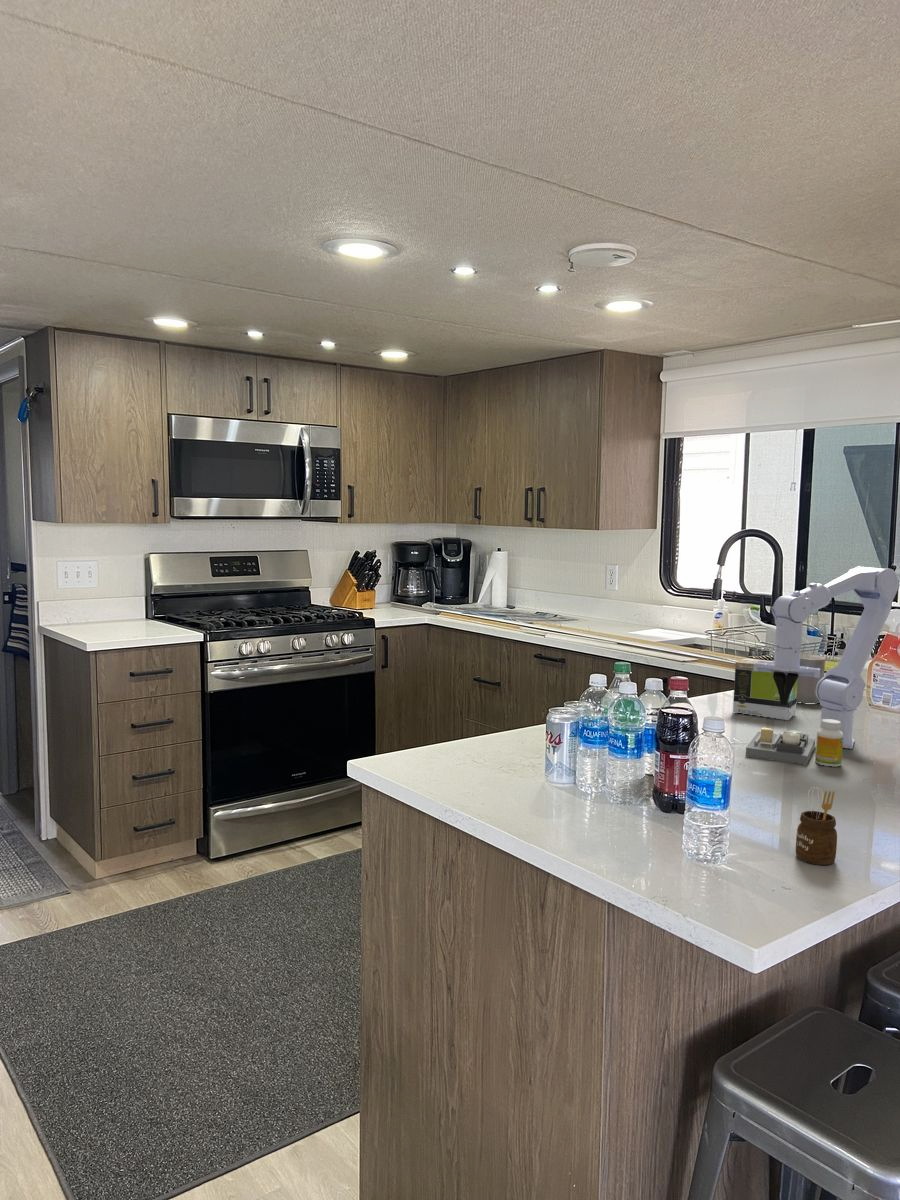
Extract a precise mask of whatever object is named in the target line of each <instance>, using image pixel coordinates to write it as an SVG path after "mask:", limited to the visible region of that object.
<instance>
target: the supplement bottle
mask: <svg viewBox="0 0 900 1200" xmlns="http://www.w3.org/2000/svg"><path fill="white" fill-rule="evenodd" d="M820 724H821V727H822V728H821V729H820V728H819V729H818V730H817V732H816V740H815V755H814V756H815V760H814V761H815V763H816V764H818V765H820V766H823V765H824V767H829V766H832V767H831V768H833V767H835V768H838V767H840V766H841V765H842V760H843V733H842V732H841V731H840V730H839V729H840V727H841V722H840V721H838V720H833V719H822V720H821V719H820Z"/></svg>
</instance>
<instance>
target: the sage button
mask: <svg viewBox="0 0 900 1200" xmlns="http://www.w3.org/2000/svg"><path fill="white" fill-rule="evenodd" d="M786 732H788V733H796V734H799V735H800V738H803V734H804V732H803V731H800V730H786Z"/></svg>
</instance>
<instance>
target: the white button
mask: <svg viewBox="0 0 900 1200" xmlns="http://www.w3.org/2000/svg"><path fill="white" fill-rule="evenodd" d="M786 732H787V731H786ZM782 734H783V740H782V743H783V744H789V745H796V746H799V742H800V735H799V734H796V733H788V732H787V733H784V732H782Z"/></svg>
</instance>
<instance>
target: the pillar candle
mask: <svg viewBox="0 0 900 1200" xmlns="http://www.w3.org/2000/svg"><path fill="white" fill-rule="evenodd" d="M826 659H827V658H826V657H824V656H821V655H817V654H810V653H809V652H808V651H807V654H806V653H801V655H800V666H804V667H811V668H819V669H820V677H819V678H815V677H810V676H800V675H799V677H798V681H797V701H796V702H801V703H820V700H819V699H818V698H817V696H816V686H817V683H818V682H819V681H820V680H821V679H822V678H823V677H824V676H825V666H826Z"/></svg>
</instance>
